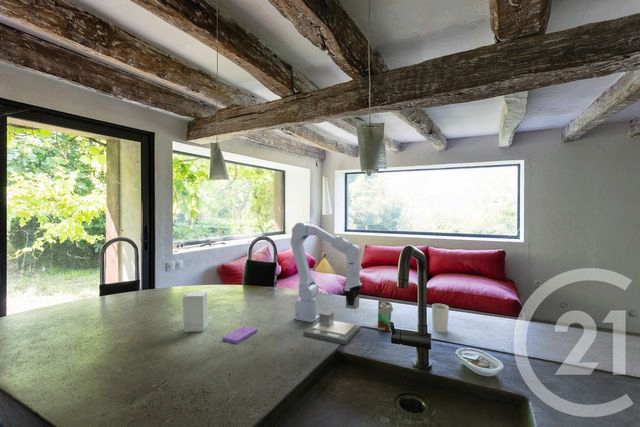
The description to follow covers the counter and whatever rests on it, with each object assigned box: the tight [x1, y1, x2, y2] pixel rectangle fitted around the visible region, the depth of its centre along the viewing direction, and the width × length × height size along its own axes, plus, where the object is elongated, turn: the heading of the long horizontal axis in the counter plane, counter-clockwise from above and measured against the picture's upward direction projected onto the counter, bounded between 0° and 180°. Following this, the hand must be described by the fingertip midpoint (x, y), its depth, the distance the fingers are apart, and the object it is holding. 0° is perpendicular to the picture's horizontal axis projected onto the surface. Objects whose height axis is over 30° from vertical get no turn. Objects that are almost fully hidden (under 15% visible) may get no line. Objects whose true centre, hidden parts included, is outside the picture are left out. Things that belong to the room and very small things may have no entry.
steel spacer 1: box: [318, 310, 335, 327], centre depth 128 cm, size 4×4×5 cm
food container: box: [377, 299, 394, 333], centre depth 131 cm, size 12×6×10 cm, turn 168°
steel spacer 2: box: [345, 294, 360, 310], centre depth 133 cm, size 4×4×5 cm
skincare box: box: [182, 291, 209, 333], centre depth 126 cm, size 8×6×15 cm
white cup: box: [431, 303, 450, 333], centre depth 129 cm, size 7×7×10 cm
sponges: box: [222, 326, 258, 345], centre depth 121 cm, size 7×13×2 cm, turn 155°
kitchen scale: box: [303, 320, 361, 345], centre depth 125 cm, size 18×16×2 cm
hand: (352, 303), depth 133 cm, fingers closed on steel spacer 2, 4 cm apart
